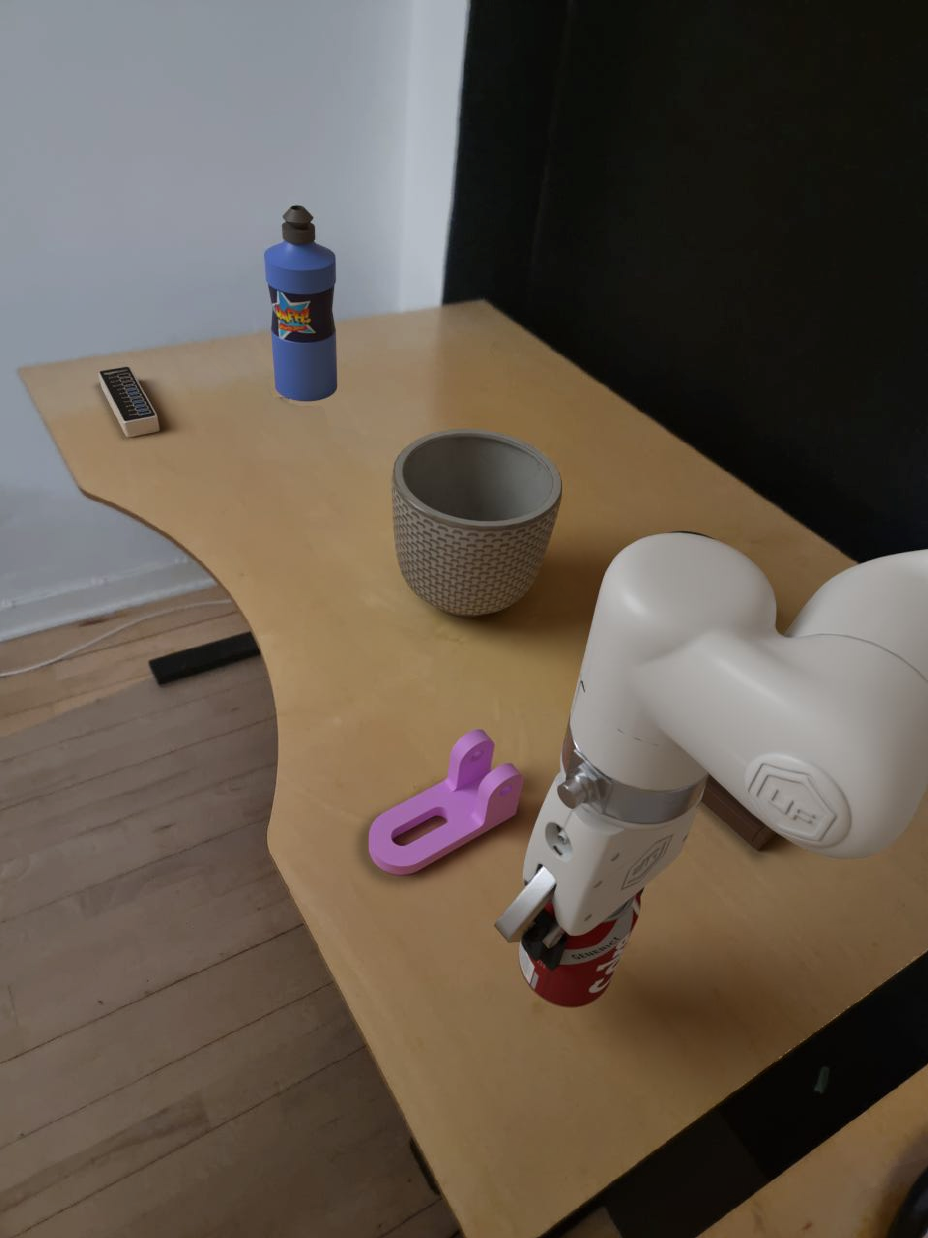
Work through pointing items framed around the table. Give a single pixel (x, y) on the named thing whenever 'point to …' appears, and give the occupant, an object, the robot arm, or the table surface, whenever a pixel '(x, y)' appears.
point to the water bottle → (302, 310)
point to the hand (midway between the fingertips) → (580, 916)
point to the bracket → (449, 808)
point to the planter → (472, 518)
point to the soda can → (583, 960)
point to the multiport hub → (129, 401)
